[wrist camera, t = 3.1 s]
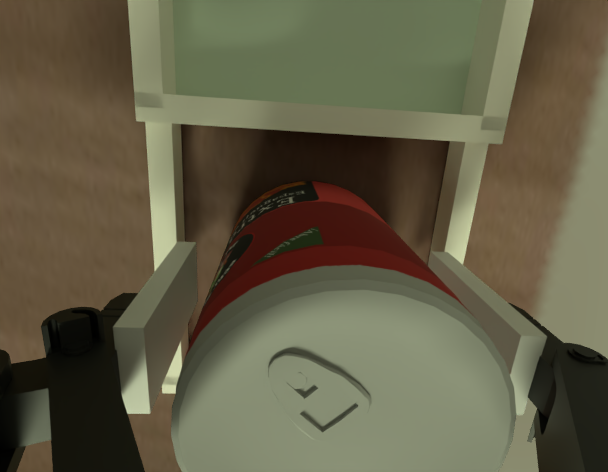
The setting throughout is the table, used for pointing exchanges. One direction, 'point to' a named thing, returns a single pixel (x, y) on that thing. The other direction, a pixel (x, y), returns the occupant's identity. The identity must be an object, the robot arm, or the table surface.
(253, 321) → the canned food
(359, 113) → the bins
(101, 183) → the table surface
